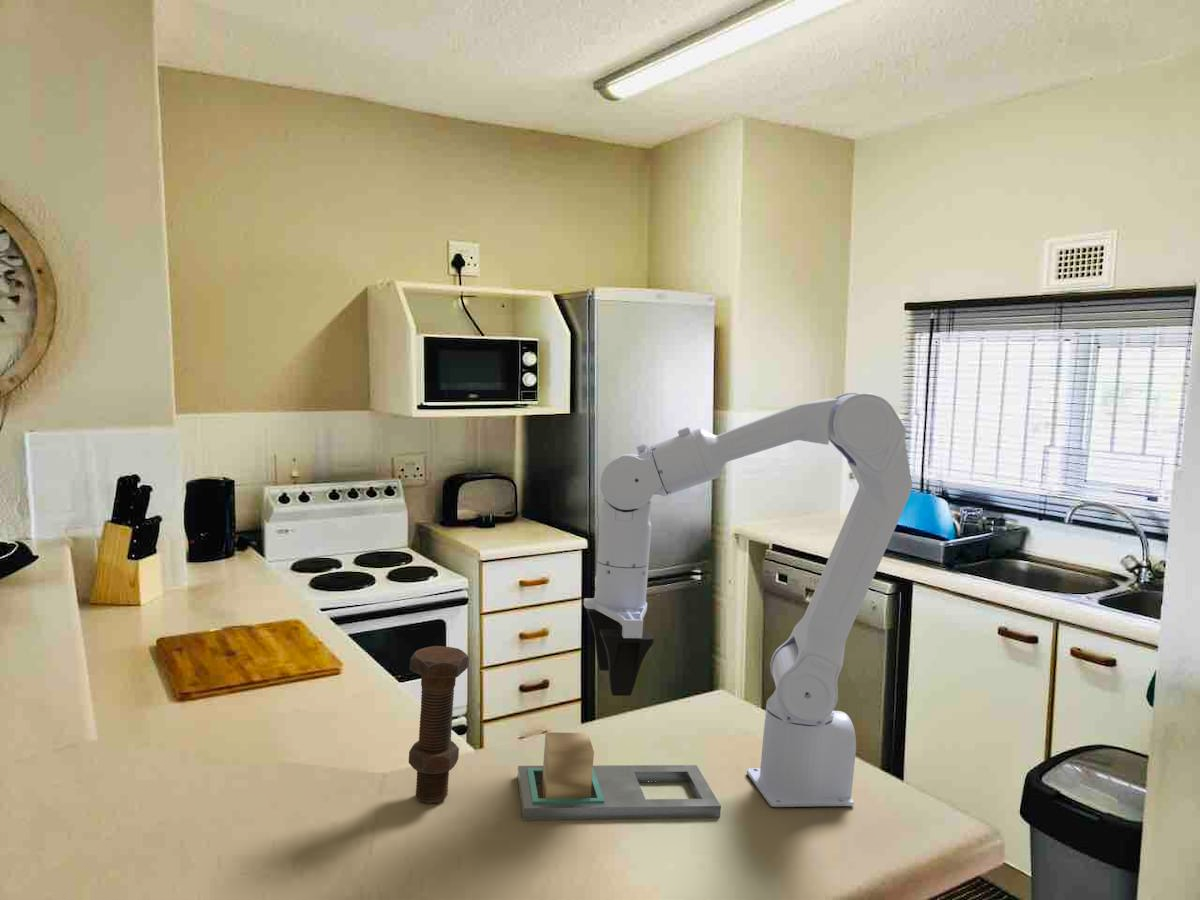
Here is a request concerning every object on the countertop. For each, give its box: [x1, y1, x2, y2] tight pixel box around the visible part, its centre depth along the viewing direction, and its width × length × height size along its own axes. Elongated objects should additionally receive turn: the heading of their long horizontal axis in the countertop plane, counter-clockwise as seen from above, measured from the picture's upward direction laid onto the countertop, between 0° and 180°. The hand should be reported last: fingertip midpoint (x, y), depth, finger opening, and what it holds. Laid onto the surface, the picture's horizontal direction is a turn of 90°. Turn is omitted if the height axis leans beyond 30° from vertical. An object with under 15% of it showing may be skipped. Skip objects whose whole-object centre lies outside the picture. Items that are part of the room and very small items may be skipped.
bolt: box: [408, 645, 470, 804], centre depth 85 cm, size 6×5×15 cm
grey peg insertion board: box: [517, 764, 722, 821], centre depth 88 cm, size 20×9×1 cm, turn 99°
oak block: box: [541, 731, 595, 798], centre depth 87 cm, size 4×4×6 cm
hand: (614, 681), depth 94 cm, fingers open, 7 cm apart
